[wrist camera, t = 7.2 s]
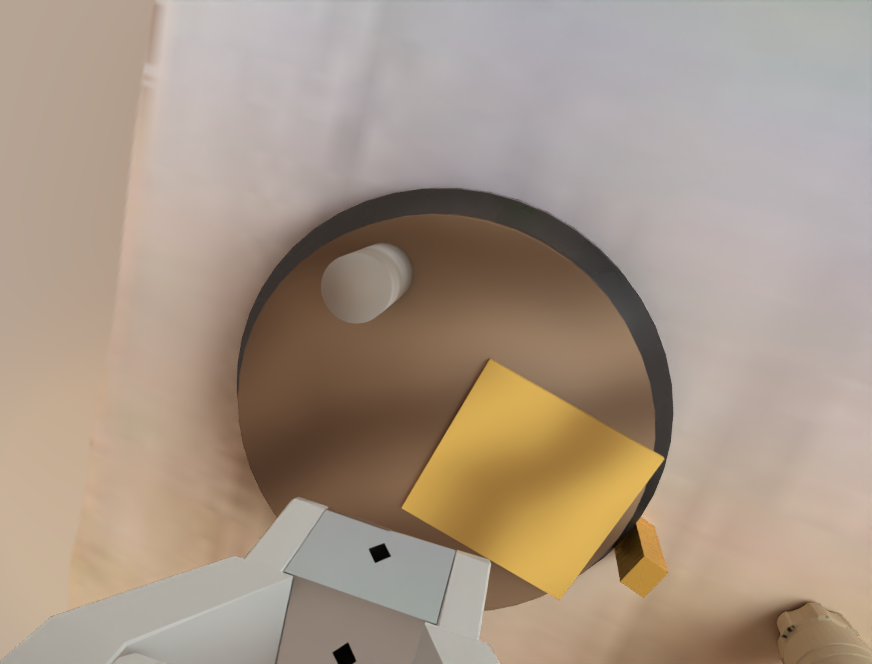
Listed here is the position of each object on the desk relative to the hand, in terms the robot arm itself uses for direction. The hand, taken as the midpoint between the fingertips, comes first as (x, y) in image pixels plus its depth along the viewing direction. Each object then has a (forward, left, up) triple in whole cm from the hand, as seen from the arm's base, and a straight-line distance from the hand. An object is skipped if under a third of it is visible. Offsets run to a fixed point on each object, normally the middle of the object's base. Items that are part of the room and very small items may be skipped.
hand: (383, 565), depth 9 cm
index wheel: (+5, +1, -18) cm, 18 cm away
